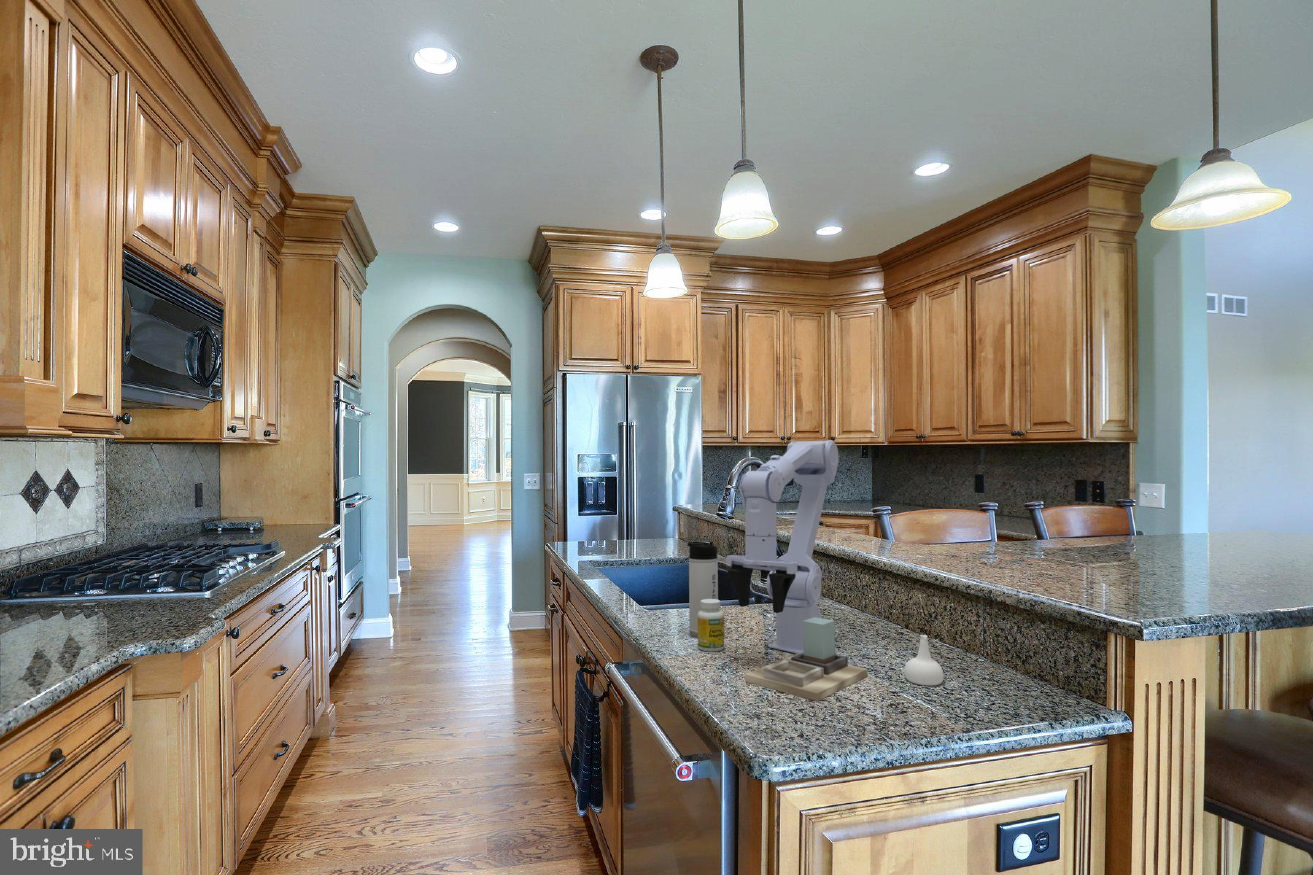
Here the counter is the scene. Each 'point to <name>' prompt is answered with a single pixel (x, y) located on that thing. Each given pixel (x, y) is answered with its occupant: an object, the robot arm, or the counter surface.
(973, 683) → the counter surface
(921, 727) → the counter surface
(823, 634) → the banded peg
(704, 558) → the travel mug
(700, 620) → the supplement bottle
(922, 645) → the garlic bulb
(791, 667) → the board
